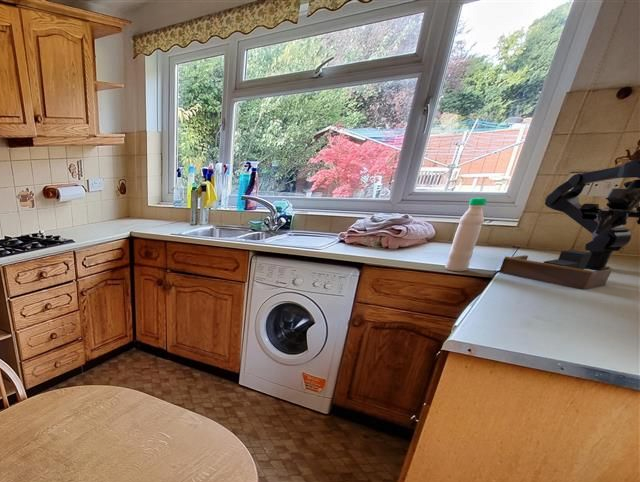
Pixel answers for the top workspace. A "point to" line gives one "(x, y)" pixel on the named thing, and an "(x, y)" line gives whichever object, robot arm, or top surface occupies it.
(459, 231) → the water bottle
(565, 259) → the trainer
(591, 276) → the brown shallow tray
